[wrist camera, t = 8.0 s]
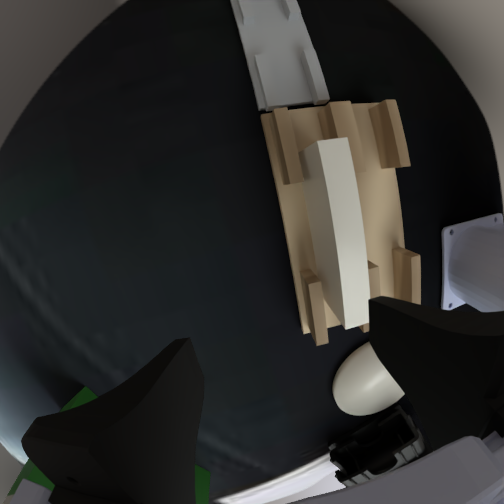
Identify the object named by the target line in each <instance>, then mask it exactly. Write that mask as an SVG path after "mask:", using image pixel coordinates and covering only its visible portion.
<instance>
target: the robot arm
mask: <svg viewBox="0 0 504 504" xmlns="http://www.w3.org/2000/svg"><path fill="white" fill-rule="evenodd" d="M450 230H451V233H450ZM465 303H468V304H469V305H471V306H473V307H474V308H476V309H478V310H479V311H481V312H461V311H451V309H454V308H456V307H458V306H460V305H462V304H465ZM449 304H450V305H449ZM368 307H369V342H370V344H371V346H372V348H373V350H374V352H375V354H376V355H377V357H378V359H379V360H380V362H381V363H382V364H383V366H384V367H385V368H386V370H387V371H388V372H389V374H390V375H391V376H392V377H393V379H394V380H395V381H396V383H397V384H398V385H399V387H400V388H401V389H402V390H403V392H404V393H405V395H406V396H407V398H408V399H409V401H410V402H411V404H412V406H413V408H414V410H415V411H416V413H417V415H418V417H419V419H420V421H421V423H422V425H423V427H424V429H425V431H426V433H427V436H428V438H429V440H430V443H431V445H432V448H433V450H434V452H432V453H430V454H428V455H426V456H424V457H422V458H420V459H418V460H416V461H414V462H412V463H410V464H408V465H405V466H403V467H401V468H399V469H396V470H394V471H391V472H389V473H387V474H384V475H381V476H379V477H376V478H373V479H371V480H368V481H365V482H362V483H359V484H356V485H353V486H350V487H347V488H343V489H340V490H336V491H333V492H329V493H325V494H321V495H317V496H313V497H308V498H305V499H302V500H298V501H295V502H291V503H287V504H504V223H503V216H502V214H501V213H497V214H493V215H489V216H486V217H482V218H478V219H474V220H471V221H467V222H463V223H459V224H455V225H451V226H447V227H444V228H443V229H442V299H441V309H439V308H433V307H429V306H424V305H420V304H416V303H412V302H408V301H404V300H400V299H396V298H392V297H387V296H379V297H375V298H372V299H368ZM203 399H204V376H203V374H202V371H201V368H200V365H199V363H198V360H197V357H196V354H195V351H194V348H193V345H192V342H191V339H190V338H183V339H176V340H174V341H173V342H172V343H170V344H169V345H168V346H167V347H166V348H165V349H163V350H162V351H161V352H160V353H159V354H158V355H157V356H156V357H155V358H153V359H152V360H151V361H150V362H149V363H148V364H147V365H145V366H144V367H143V368H142V369H140V370H139V371H138V372H137V373H136V374H134V375H133V376H132V377H130V378H129V379H128V380H126V381H125V382H123V383H122V384H120V385H119V386H117V387H116V388H114V389H113V390H111V391H109V392H107V393H105V394H103V395H101V396H99V397H98V398H96V399H94V400H92V401H89V402H87V403H85V404H82V405H80V406H77V407H75V408H72V409H69V410H66V411H62V412H59V413H55V414H51V415H46V416H42V417H37V418H36V419H35V420H34V422H33V423H32V424H31V426H30V427H29V429H28V430H27V432H26V433H25V434H24V436H23V437H22V440H21V443H22V447H23V449H24V451H25V453H26V455H27V456H28V457H29V459H30V460H31V461H32V462H33V463H34V464H35V466H36V467H37V468H38V469H39V470H40V471H41V472H42V473H43V474H44V475H45V476H46V477H47V478H48V479H49V480H50V481H51V482H52V483H53V484H54V485H55V487H54V489H53V491H51V490H49V489H48V488H46V487H44V486H42V485H39V484H37V483H34V482H32V481H30V480H27V479H22V481H21V483H20V485H19V487H18V488H17V490H16V492H15V494H14V496H13V498H12V500H11V502H10V503H9V504H196V495H195V449H196V440H197V434H198V429H199V423H200V417H201V411H202V405H203Z"/></svg>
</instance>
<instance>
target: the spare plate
mask: <svg viewBox="0 0 504 504" xmlns="http://www.w3.org/2000/svg"><path fill="white" fill-rule="evenodd" d="M332 391H333V396H334V398H335V401H336V403H337V405H338V406H339V408H340V409H341V410H343V411H344V412H346V413H348V414H351V415H369V414H373V413H376V412H379V411H381V410H384V409H385V408H387V407H389V406H391V405H392V404H394V403H395V402H396V401H398V400H399V399H400V398H401V397H402V396H403V395H404V394H405V393H404V392H403V390H402V389H401V388H400V387H399V385H398V384H397V383H396V381H395V380H394V379H393V377H392V376H391V375H390V374H389V372H388V371H387V370H386V368H385V367H384V366H383V364H382V363H381V362H380V360H379V359H378V357H377V355H376V354H375V352H374V350H373V348H372V346H371V344H370V342H368V343H366V344H364V345H362V346H361V347H359V348H358V349H357V350H355V351H354V352H353V353H352V354H351V355H349V356H348V358H347V359H346V360H345V361H344V362H343V363H342V365H341V366H340V368H339V369H338V371H337V373H336V375H335V377H334V380H333V385H332Z"/></svg>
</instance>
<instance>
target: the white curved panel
mask: <svg viewBox="0 0 504 504" xmlns="http://www.w3.org/2000/svg"><path fill="white" fill-rule="evenodd" d="M298 156H299V160H300V165H301V170H302V174H303V179H304V182H302V187H303V193H304V198H305V203H306V208H307V214H308V219H309V225H310V230H311V236H312V242H313V248H314V254H315V261H316V267H317V274H318V278H319V280H320V281H321V285H322V293H323V299H324V300H325V302H326V303H327V304H328V306H329V307H330V309H331V310H332V311H333V313H334V314H335V315H336V317H337V318H338V320H339V321H340V322H341V324H342V325H343V327H344V328H345V329H349V328H353V327H356V326H360V325H363V324H366V323H369V307H368V299H370V287H369V274H368V263H367V253H366V243H365V235H364V227H363V220H362V213H361V206H360V200H359V194H358V188H357V182H356V177H355V171H354V166H353V161H352V156H351V151H350V147H349V142H348V138H347V137H345V138H336V139H328V140H321V141H316V142H315V143H313V144H311V145H310V146H308V147H306V148H305V149H303V150H302V151H300V152H298Z"/></svg>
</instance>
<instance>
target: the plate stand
mask: <svg viewBox="0 0 504 504" xmlns="http://www.w3.org/2000/svg"><path fill="white" fill-rule="evenodd" d="M230 2H231V6H232V9H233V13H234V16H235V20H236V23H237V27H238V31H239V34H240V38H241V42H242V45H243V49H244V53H245V57H246V61H247V65H248V68H249V72H250V76H251V80H252V84H253V88H254V92H255V97H256V101H257V105H258V109H259V111H261V110H266V111H273V109H277V108H280V107H287V106H295V105H303V104H312V103H314V105H320V104H325V103H326V102H328V101H329V100H330V98H329V94H328V91H327V87H326V84H325V80H324V77H323V74H322V70H321V67H320V64H319V61H318V58H317V55H316V52H315V49H313V46H312V43H311V40H310V37H309V34H308V32H307V29H306V26H305V23H304V21H303V18H302V16H301V11H300V8H299V6H298V3H297V1H296V0H230Z"/></svg>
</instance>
